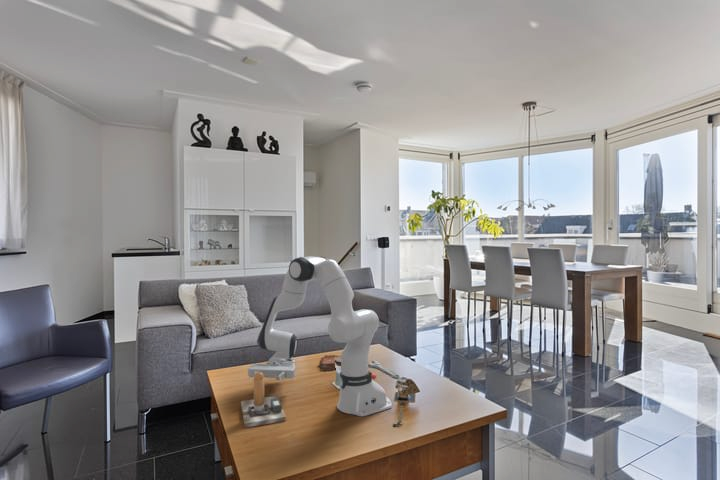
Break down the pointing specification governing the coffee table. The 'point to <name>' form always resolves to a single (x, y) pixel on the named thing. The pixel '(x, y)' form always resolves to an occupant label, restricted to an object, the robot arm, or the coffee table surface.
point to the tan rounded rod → (258, 392)
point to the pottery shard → (327, 362)
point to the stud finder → (275, 405)
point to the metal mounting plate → (263, 417)
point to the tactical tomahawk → (400, 415)
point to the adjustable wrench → (383, 369)
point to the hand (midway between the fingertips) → (266, 378)
